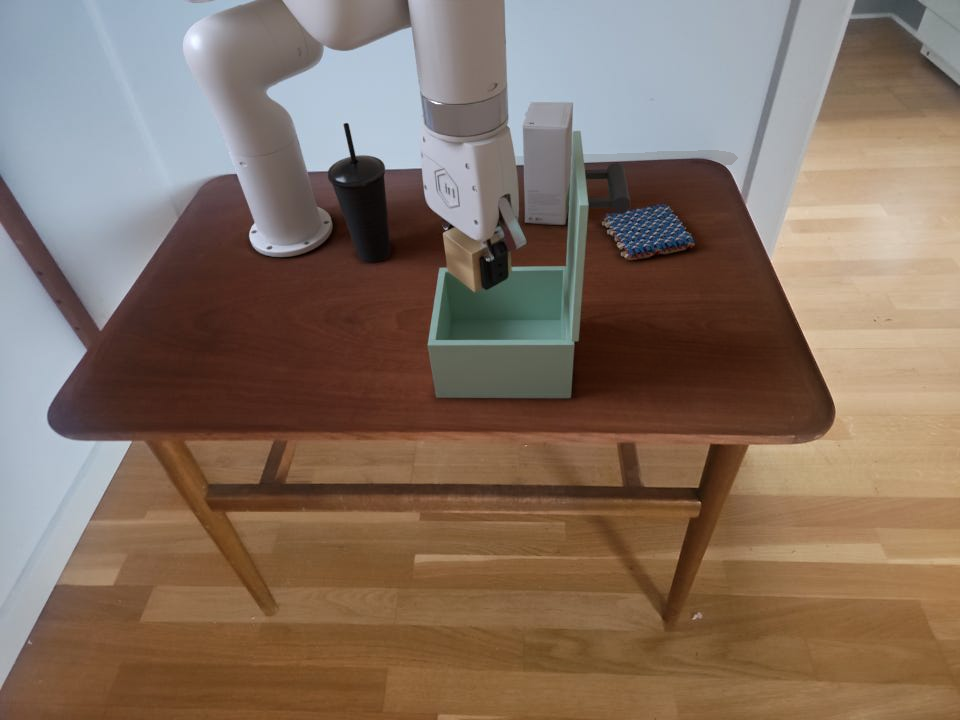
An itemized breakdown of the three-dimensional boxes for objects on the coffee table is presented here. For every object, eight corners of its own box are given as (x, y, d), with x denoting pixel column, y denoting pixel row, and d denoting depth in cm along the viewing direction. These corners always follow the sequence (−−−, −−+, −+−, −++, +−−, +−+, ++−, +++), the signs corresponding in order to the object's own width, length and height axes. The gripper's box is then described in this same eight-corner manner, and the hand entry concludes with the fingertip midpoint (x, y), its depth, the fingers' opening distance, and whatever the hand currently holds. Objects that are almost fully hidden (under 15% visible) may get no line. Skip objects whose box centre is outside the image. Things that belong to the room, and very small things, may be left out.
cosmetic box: (564, 227, 97) (569, 129, 86) (521, 224, 98) (520, 127, 87) (570, 196, 103) (575, 100, 91) (529, 194, 104) (529, 99, 92)
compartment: (436, 398, 75) (427, 345, 69) (446, 320, 84) (439, 267, 78) (570, 398, 74) (574, 344, 68) (566, 319, 83) (569, 265, 77)
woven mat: (665, 210, 98) (667, 199, 97) (696, 251, 91) (698, 239, 90) (599, 222, 97) (600, 211, 96) (626, 265, 90) (627, 253, 89)
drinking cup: (386, 273, 92) (358, 142, 77) (339, 263, 94) (304, 135, 80) (408, 242, 97) (386, 113, 82) (363, 233, 99) (334, 107, 84)
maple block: (447, 271, 70) (442, 232, 67) (483, 252, 72) (480, 213, 68) (475, 293, 67) (471, 254, 64) (512, 272, 69) (510, 234, 66)
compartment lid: (579, 205, 55) (638, 203, 55) (572, 130, 64) (623, 129, 64) (570, 341, 67) (619, 341, 67) (566, 262, 76) (608, 262, 76)
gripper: (377, 90, 60) (406, 249, 73) (492, 157, 50) (501, 327, 63) (443, 65, 63) (459, 223, 76) (563, 124, 53) (558, 293, 66)
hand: (478, 269), depth 69 cm, fingers closed on maple block, 5 cm apart
